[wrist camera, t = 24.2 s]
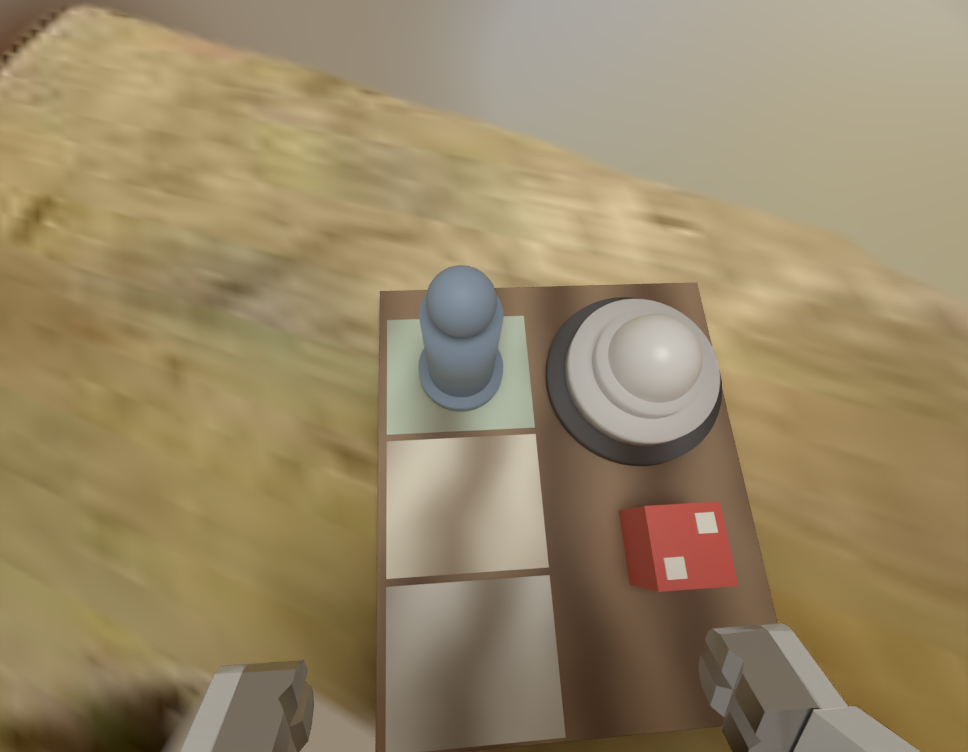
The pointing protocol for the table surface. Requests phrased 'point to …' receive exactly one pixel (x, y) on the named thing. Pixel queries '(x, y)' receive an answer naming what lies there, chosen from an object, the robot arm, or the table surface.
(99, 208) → the table surface
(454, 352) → the pawn
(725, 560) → the red die
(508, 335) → the game board
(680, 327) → the dome
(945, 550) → the table surface
